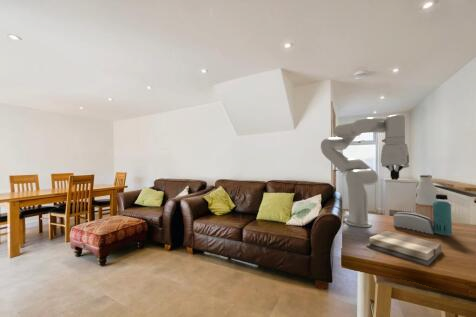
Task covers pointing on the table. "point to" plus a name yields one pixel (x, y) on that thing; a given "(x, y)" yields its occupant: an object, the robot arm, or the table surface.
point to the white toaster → (413, 222)
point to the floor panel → (426, 262)
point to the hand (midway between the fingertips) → (394, 179)
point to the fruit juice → (426, 197)
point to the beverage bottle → (442, 216)
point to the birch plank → (402, 246)
